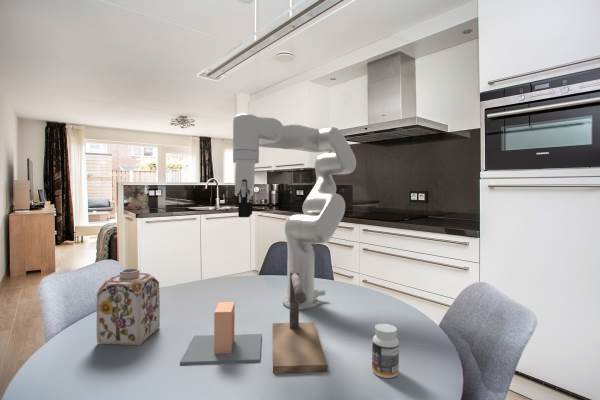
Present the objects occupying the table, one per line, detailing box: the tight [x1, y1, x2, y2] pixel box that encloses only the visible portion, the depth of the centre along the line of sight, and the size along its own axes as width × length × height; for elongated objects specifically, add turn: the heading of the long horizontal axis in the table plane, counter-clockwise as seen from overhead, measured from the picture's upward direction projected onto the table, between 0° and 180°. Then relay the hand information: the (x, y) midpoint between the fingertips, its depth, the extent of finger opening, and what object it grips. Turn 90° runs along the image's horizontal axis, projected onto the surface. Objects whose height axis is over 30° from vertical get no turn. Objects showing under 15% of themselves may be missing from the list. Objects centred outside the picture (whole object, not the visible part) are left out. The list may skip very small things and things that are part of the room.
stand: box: [272, 271, 328, 374], centre depth 85 cm, size 12×24×17 cm, turn 5°
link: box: [213, 301, 236, 354], centre depth 84 cm, size 7×4×10 cm, turn 5°
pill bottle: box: [371, 323, 400, 379], centre depth 74 cm, size 6×6×10 cm
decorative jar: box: [95, 267, 161, 346], centre depth 91 cm, size 12×12×18 cm
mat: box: [179, 333, 262, 365], centre depth 84 cm, size 18×14×1 cm
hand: (245, 215), depth 99 cm, fingers open, 9 cm apart
